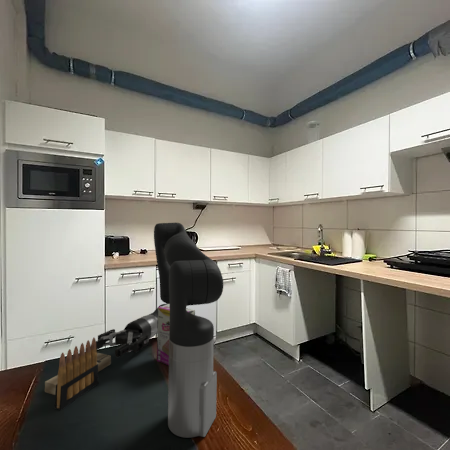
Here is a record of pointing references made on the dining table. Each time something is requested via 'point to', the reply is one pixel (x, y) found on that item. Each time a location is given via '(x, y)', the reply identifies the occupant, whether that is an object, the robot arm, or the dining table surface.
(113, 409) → the dining table surface
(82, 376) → the ammunition clip
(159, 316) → the candy bar box
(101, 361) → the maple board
